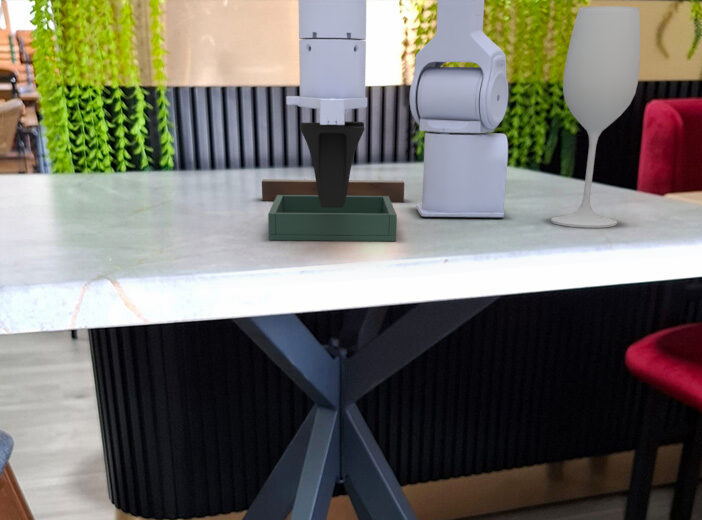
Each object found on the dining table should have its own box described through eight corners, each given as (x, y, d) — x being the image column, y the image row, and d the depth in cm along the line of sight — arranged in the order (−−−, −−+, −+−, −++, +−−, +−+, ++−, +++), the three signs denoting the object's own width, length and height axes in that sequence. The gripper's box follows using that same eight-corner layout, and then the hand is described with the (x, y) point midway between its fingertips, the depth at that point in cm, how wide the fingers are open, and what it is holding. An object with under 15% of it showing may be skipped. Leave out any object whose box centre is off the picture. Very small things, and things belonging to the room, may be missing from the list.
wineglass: (585, 230, 95) (611, 4, 86) (534, 220, 101) (555, 8, 92) (633, 224, 99) (663, 8, 90) (582, 215, 104) (606, 11, 95)
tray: (388, 219, 100) (388, 196, 99) (395, 241, 87) (396, 214, 86) (277, 218, 100) (276, 194, 99) (268, 240, 87) (268, 213, 86)
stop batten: (402, 200, 116) (403, 180, 114) (403, 202, 114) (404, 182, 113) (263, 198, 115) (262, 179, 114) (262, 200, 113) (261, 180, 112)
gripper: (289, 42, 83) (292, 196, 88) (280, 36, 70) (284, 217, 75) (365, 43, 83) (363, 197, 89) (371, 37, 70) (368, 218, 76)
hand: (332, 206), depth 82 cm, fingers closed
